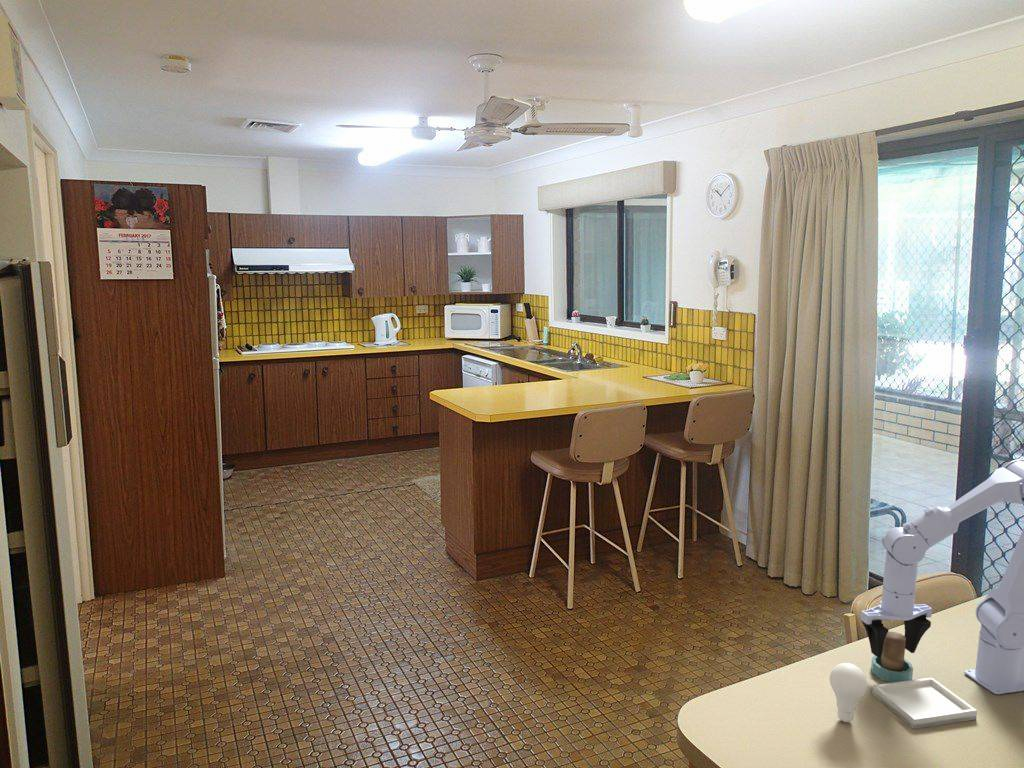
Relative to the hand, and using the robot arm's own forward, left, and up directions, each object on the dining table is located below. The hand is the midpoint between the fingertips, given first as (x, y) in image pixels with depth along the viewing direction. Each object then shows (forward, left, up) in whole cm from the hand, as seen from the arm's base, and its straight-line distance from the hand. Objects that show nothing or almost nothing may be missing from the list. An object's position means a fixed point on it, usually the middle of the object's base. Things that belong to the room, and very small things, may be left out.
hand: (892, 652), depth 151 cm
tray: (+2, +11, -5) cm, 12 cm away
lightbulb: (+19, +12, -5) cm, 23 cm away
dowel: (0, 0, -5) cm, 5 cm away
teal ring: (0, 0, -5) cm, 5 cm away
